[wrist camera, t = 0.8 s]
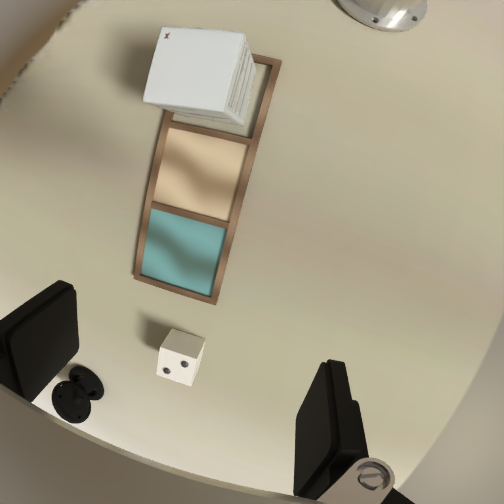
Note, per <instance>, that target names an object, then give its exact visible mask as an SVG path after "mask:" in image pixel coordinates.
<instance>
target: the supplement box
mask: <svg viewBox="0 0 504 504" xmlns="http://www.w3.org/2000/svg"><path fill="white" fill-rule="evenodd" d="M255 74H256V68H255V64H254V61H253V58H252V55H251V52H250V49H249V46H248V44H247V41H246V37H245V33H243V32H237V31H228V30H218V29H207V28H191V27H166V26H163V27H161V31H160V35H159V38H158V42H157V45H156V49H155V53H154V56H153V60H152V64H151V67H150V71H149V75H148V79H147V83H146V88H145V92H144V97H143V102H145V103H149V104H152V105H155V106H157V107H160V108H163V109H166V110H169V111H171V112H174V113H177V114H180V115H182V116H185V117H194V118H201V119H208V120H213V121H219V122H225V123H230V124H235V125H240V126H244V122H245V118H246V113H247V109H248V104H249V100H250V96H251V91H252V87H253V83H254V79H255Z"/></svg>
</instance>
